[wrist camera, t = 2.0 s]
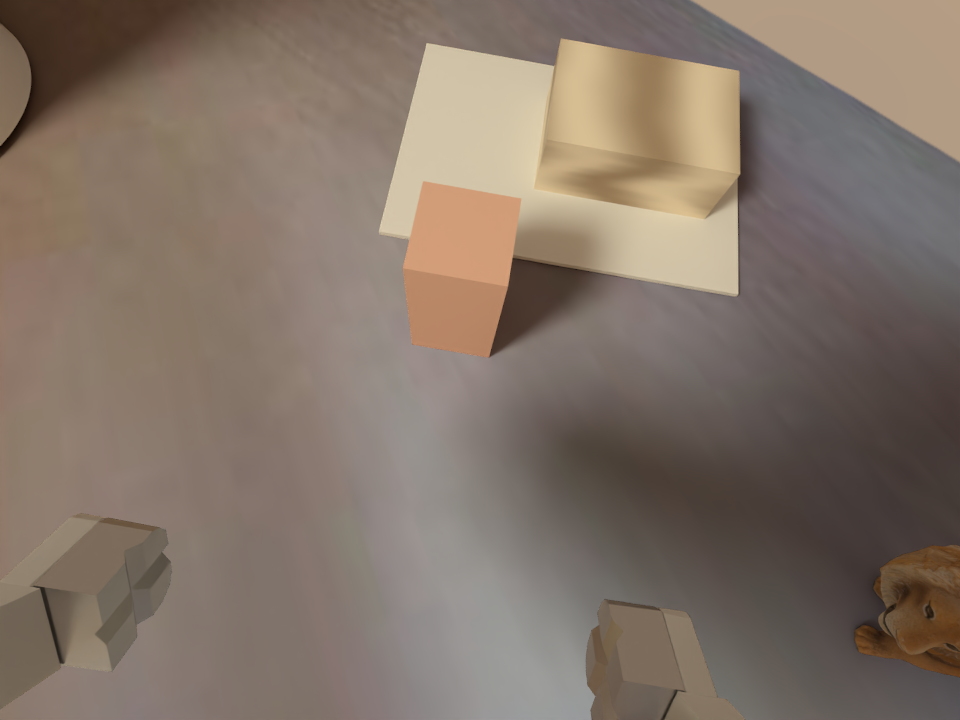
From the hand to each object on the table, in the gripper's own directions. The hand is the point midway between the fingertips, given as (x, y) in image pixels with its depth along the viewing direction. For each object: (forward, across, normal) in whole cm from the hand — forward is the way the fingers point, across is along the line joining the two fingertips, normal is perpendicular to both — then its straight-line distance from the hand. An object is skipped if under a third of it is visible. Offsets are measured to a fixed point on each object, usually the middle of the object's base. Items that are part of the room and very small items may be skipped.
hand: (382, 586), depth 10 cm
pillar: (+20, 0, +2) cm, 20 cm away
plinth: (+28, -8, -7) cm, 30 cm away
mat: (+27, -5, -6) cm, 28 cm away
